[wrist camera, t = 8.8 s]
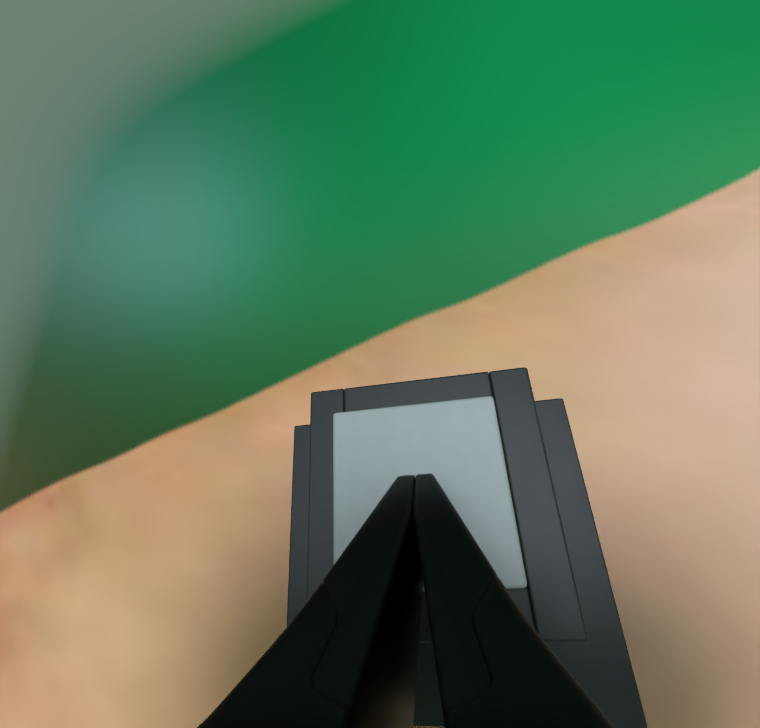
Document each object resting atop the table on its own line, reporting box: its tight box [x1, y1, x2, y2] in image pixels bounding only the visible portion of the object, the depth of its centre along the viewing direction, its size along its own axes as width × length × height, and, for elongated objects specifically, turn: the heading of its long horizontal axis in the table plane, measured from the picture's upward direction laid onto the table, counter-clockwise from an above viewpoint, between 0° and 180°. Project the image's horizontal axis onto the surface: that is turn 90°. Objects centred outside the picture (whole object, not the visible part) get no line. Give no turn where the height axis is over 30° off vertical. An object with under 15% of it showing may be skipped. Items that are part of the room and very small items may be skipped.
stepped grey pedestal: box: [287, 368, 648, 728], centre depth 13 cm, size 10×10×6 cm
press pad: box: [333, 396, 527, 591], centre depth 10 cm, size 4×4×2 cm
